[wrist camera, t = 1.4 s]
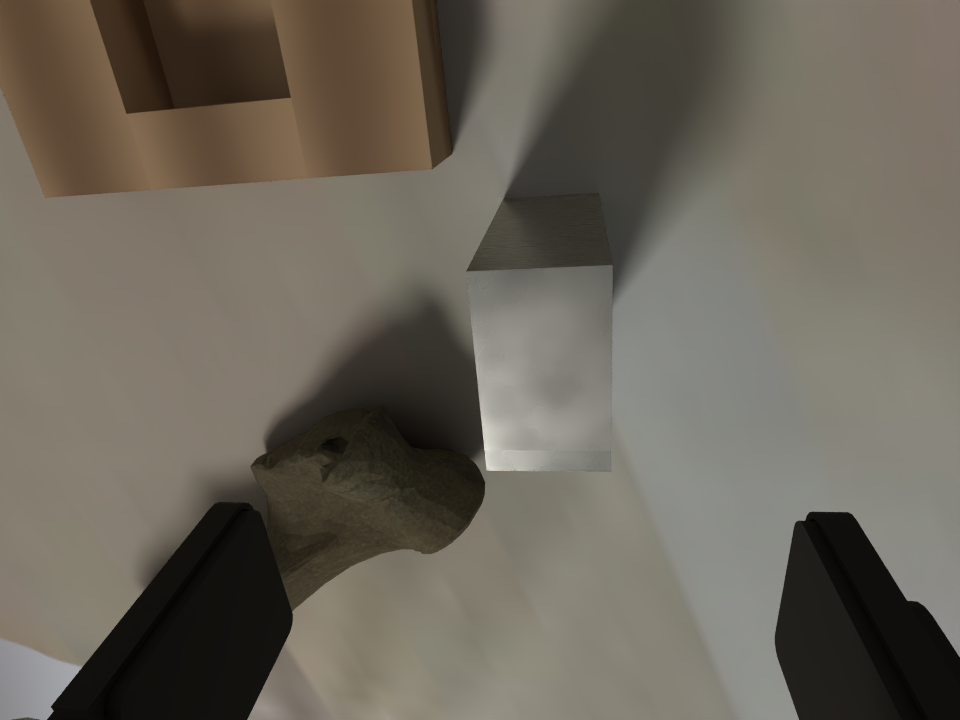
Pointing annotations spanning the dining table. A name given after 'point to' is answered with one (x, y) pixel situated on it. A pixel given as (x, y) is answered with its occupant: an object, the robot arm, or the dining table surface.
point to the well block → (221, 90)
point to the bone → (360, 497)
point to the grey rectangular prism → (544, 335)
